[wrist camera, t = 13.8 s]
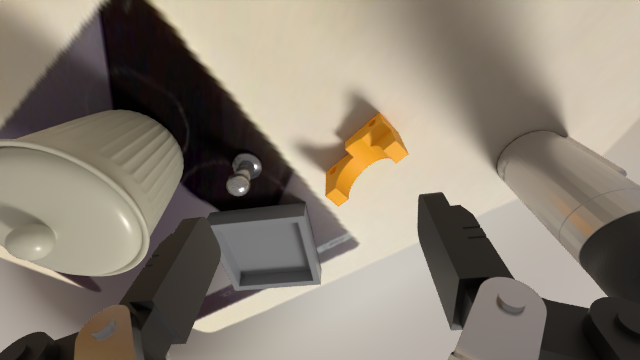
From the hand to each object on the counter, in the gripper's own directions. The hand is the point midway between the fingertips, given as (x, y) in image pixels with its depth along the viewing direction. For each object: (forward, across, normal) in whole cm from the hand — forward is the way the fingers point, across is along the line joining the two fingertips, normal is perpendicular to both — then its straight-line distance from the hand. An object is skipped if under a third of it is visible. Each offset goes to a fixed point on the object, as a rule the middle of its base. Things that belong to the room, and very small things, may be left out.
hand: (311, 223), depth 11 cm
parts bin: (+30, +15, +30) cm, 45 cm away
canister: (+30, +29, +8) cm, 43 cm away
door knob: (+30, +14, +13) cm, 36 cm away
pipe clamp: (+30, -3, +13) cm, 33 cm away
